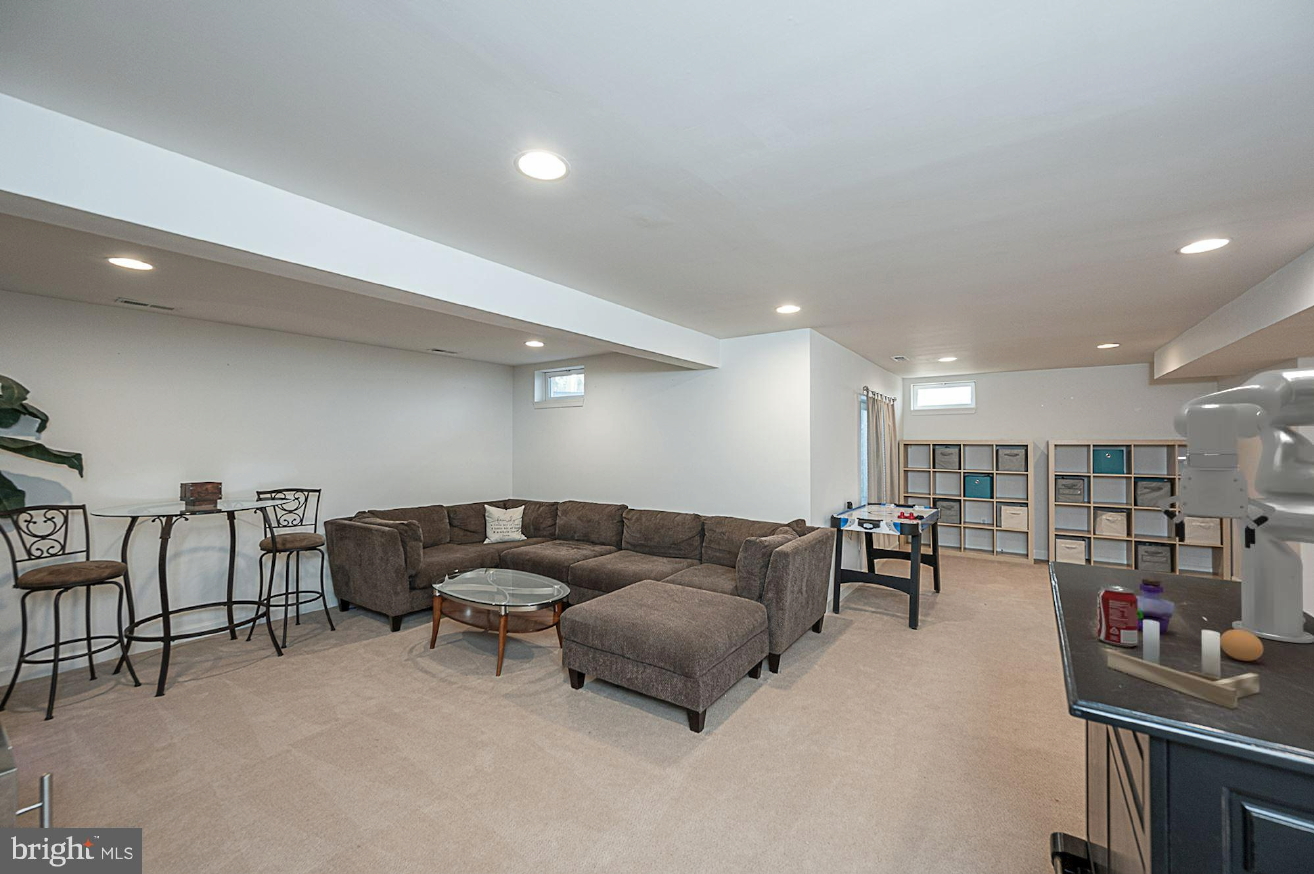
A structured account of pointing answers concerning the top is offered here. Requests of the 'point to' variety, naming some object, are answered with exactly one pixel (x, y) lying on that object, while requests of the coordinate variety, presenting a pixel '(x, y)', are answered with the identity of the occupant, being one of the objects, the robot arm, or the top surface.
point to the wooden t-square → (1188, 680)
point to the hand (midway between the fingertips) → (1214, 544)
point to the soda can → (1117, 616)
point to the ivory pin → (1211, 653)
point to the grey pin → (1151, 641)
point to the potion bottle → (1153, 605)
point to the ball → (1241, 645)
